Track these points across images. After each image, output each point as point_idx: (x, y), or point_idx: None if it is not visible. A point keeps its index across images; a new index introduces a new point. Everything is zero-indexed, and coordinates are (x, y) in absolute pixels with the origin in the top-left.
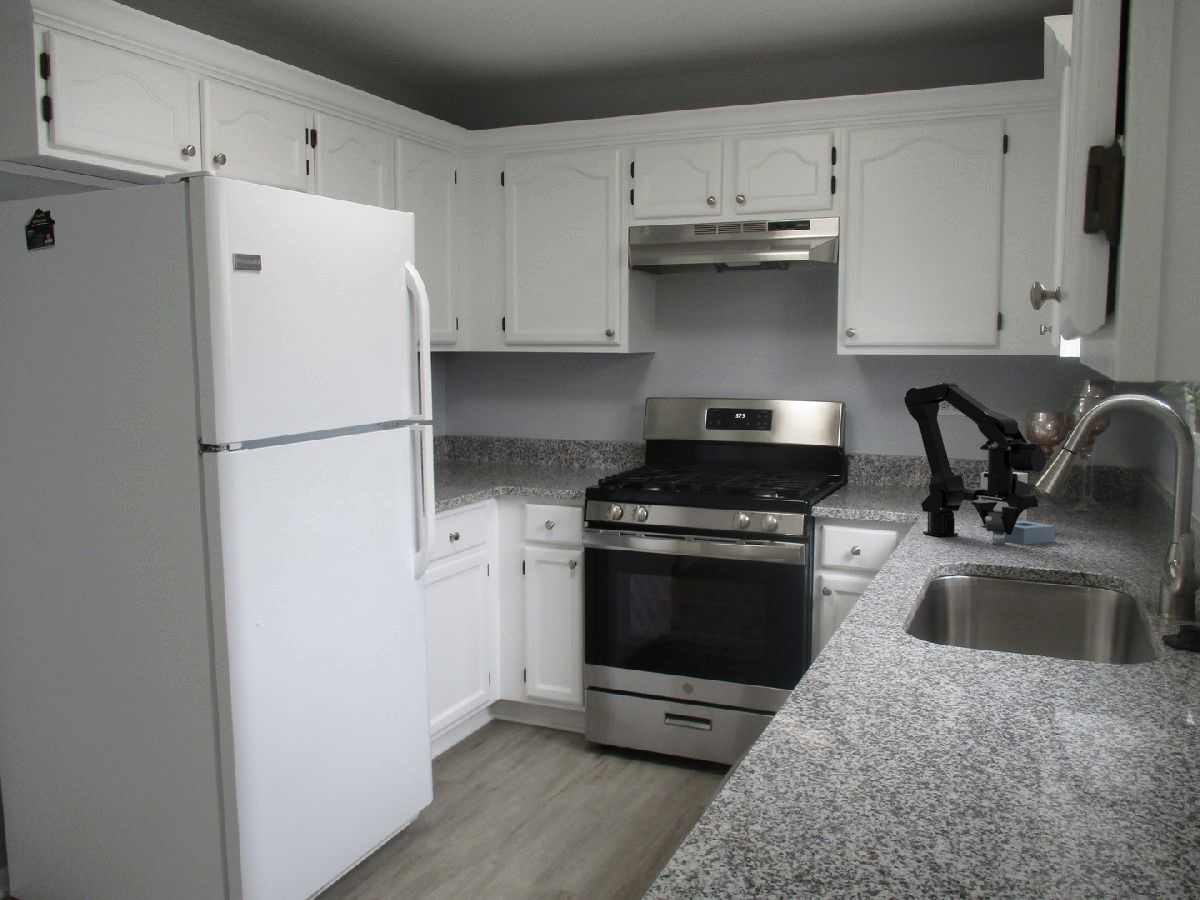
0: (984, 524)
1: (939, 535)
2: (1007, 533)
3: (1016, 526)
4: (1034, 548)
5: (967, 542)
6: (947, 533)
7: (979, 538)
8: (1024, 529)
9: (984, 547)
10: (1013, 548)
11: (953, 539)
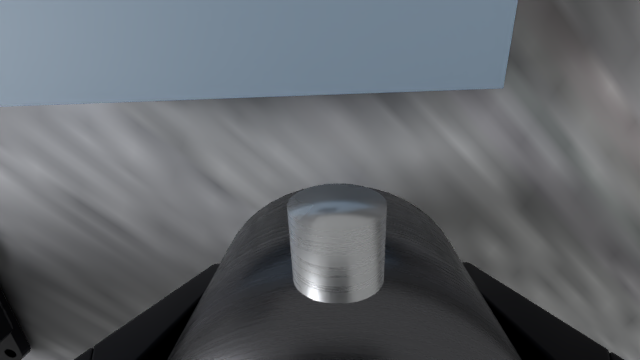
0: None
1: (23, 356)
2: None
3: (326, 56)
4: (588, 124)
5: None
6: (6, 329)
7: (87, 173)
8: (496, 83)
9: None
10: (498, 249)
11: (105, 325)
